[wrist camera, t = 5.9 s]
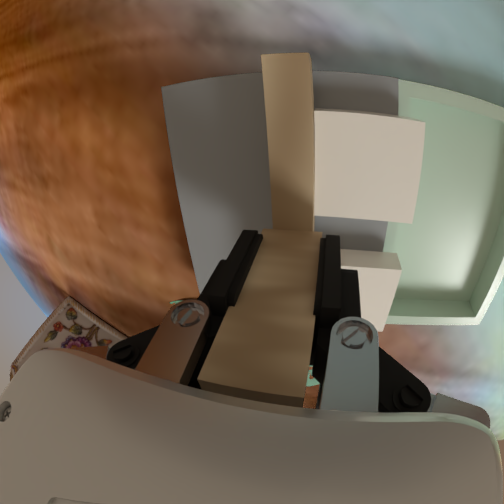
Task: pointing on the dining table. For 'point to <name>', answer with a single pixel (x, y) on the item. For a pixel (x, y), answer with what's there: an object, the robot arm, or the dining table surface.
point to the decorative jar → (68, 332)
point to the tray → (451, 211)
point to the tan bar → (277, 257)
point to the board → (251, 158)
